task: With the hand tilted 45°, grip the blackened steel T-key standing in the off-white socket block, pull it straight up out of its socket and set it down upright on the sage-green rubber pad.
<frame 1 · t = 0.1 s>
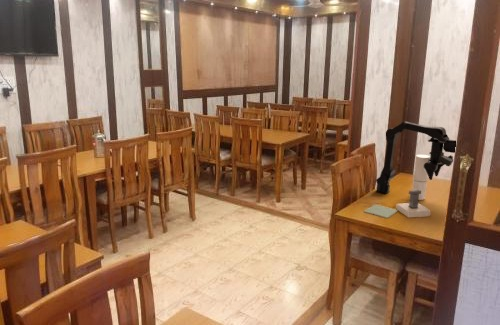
hand: (433, 177, 214), 15 cm above the table, tool pointing down, fingers open, 9 cm apart
socket block: (412, 212, 205), on the table
t key: (413, 201, 203), in the socket block
cylindrical container: (418, 197, 227), on the table
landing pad: (380, 211, 206), on the table
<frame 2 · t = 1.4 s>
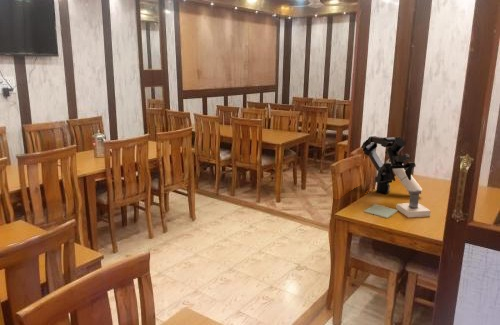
hand: (402, 180, 214), 14 cm above the table, tool tilted 45°, fingers open, 9 cm apart
cylindrical container: (417, 193, 227), point 2 cm above the table, touching arm
everything else where it was.
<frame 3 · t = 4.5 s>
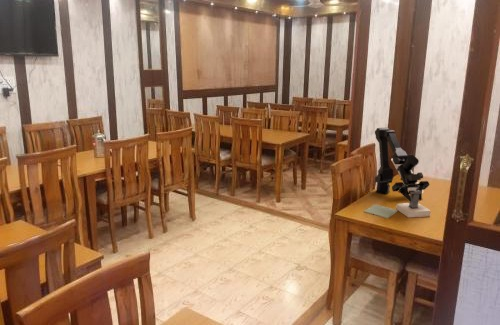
hand: (415, 200, 202), 7 cm above the table, tool tilted 45°, fingers closed on t key, 5 cm apart
t key: (413, 201, 203), in the socket block, touching gripper
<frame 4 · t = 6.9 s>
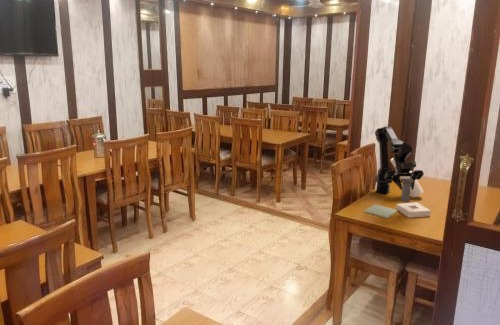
hand: (407, 189, 200), 13 cm above the table, tool tilted 45°, fingers closed on t key, 5 cm apart
t key: (406, 190, 201), point 12 cm above the table, touching gripper
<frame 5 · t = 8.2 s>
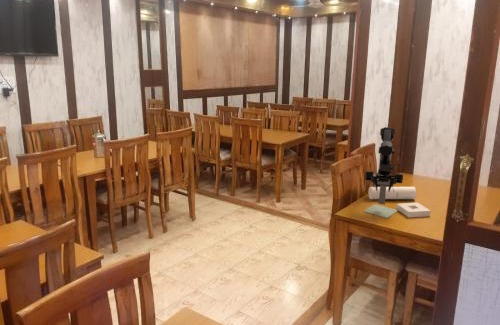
hand: (382, 191, 202), 12 cm above the table, tool tilted 45°, fingers closed on t key, 5 cm apart
t key: (382, 192, 203), point 11 cm above the table, touching gripper
cylindrical container: (414, 193, 224), point 4 cm above the table
when the fingers open (9 cm above the table, at t = 9.2 s): t key drops 1 cm, resting on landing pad.
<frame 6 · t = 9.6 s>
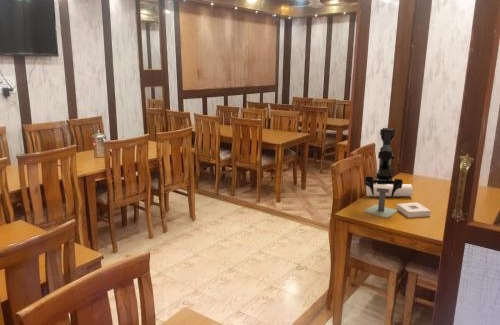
hand: (382, 196, 203), 9 cm above the table, tool tilted 45°, fingers open, 9 cm apart
t key: (381, 199, 204), on the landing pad, point 7 cm above the table
cylindrical container: (410, 190, 228), point 4 cm above the table, touching arm
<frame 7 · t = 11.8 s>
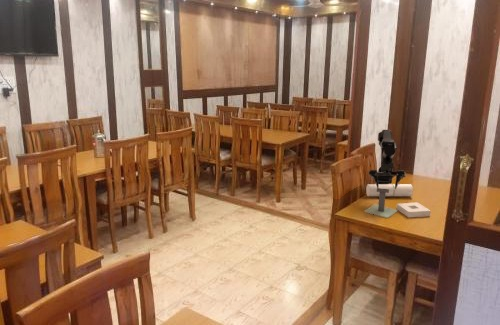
hand: (386, 188, 213), 10 cm above the table, tool tilted 30°, fingers open, 9 cm apart
nothing on the table moved.
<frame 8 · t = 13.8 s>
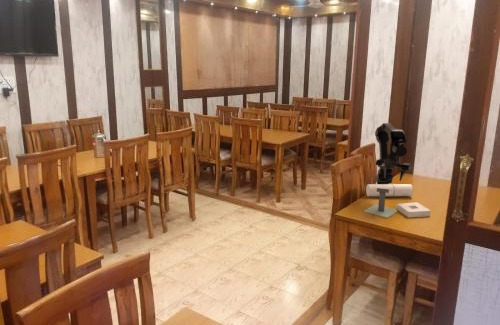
hand: (392, 179, 218), 13 cm above the table, tool pointing down, fingers open, 9 cm apart
nothing on the table moved.
at the end: t key inside the target area (0.0 cm from its centre), point 6.6 cm above the table; t key tilted 0°; the gripper is holding nothing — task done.
